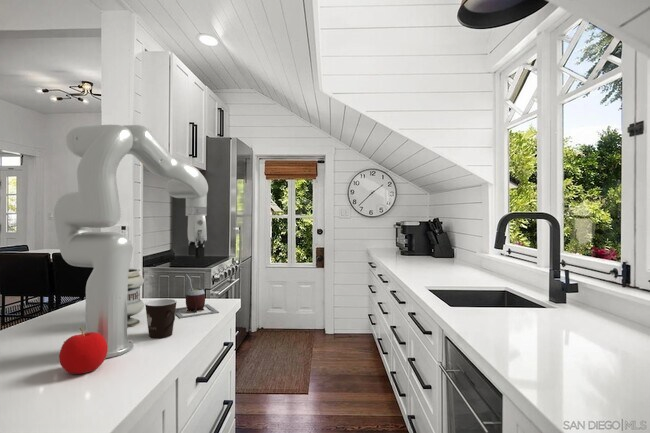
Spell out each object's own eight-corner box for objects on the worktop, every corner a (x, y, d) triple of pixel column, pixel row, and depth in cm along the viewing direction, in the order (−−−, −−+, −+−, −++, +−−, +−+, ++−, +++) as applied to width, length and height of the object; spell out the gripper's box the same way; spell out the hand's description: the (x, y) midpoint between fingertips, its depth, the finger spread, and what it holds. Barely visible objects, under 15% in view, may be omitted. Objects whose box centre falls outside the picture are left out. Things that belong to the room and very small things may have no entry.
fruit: (99, 359, 88) (99, 319, 88) (113, 369, 82) (113, 326, 82) (54, 371, 81) (54, 328, 81) (65, 383, 75) (66, 336, 75)
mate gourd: (204, 307, 139) (205, 269, 139) (205, 312, 131) (206, 272, 131) (184, 309, 136) (184, 270, 136) (184, 314, 129) (184, 273, 129)
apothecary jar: (111, 332, 108) (112, 274, 108) (95, 324, 115) (96, 270, 115) (150, 323, 118) (151, 269, 118) (133, 316, 125) (134, 266, 125)
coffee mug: (145, 332, 108) (145, 300, 108) (175, 329, 112) (176, 298, 112) (143, 345, 98) (144, 309, 98) (177, 341, 101) (177, 306, 101)
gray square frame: (179, 318, 124) (179, 317, 124) (171, 309, 135) (171, 308, 135) (218, 312, 132) (218, 311, 132) (207, 304, 143) (207, 304, 143)
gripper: (213, 212, 129) (212, 258, 129) (200, 212, 143) (199, 253, 143) (191, 212, 125) (191, 260, 125) (180, 211, 139) (180, 254, 139)
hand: (196, 256), depth 134 cm, fingers open, 9 cm apart
